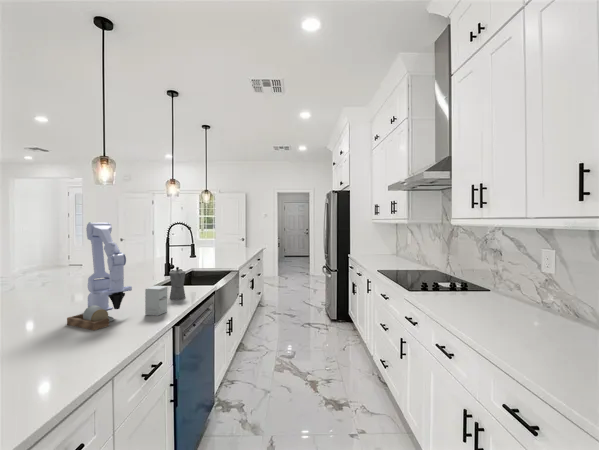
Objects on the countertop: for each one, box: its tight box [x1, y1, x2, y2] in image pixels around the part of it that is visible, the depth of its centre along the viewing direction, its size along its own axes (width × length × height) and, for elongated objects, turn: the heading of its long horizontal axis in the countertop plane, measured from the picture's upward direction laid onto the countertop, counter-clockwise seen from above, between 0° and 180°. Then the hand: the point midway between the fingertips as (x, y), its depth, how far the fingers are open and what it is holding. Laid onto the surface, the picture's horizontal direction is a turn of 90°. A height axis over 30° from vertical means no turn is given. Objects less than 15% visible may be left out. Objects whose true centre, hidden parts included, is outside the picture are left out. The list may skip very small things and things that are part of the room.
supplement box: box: [144, 285, 168, 316], centre depth 159 cm, size 7×7×13 cm
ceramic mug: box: [82, 305, 114, 322], centre depth 143 cm, size 11×8×8 cm
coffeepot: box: [169, 266, 186, 301], centre depth 192 cm, size 15×9×18 cm, turn 44°
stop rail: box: [66, 313, 110, 331], centre depth 141 cm, size 18×6×3 cm, turn 66°
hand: (116, 308), depth 153 cm, fingers closed
